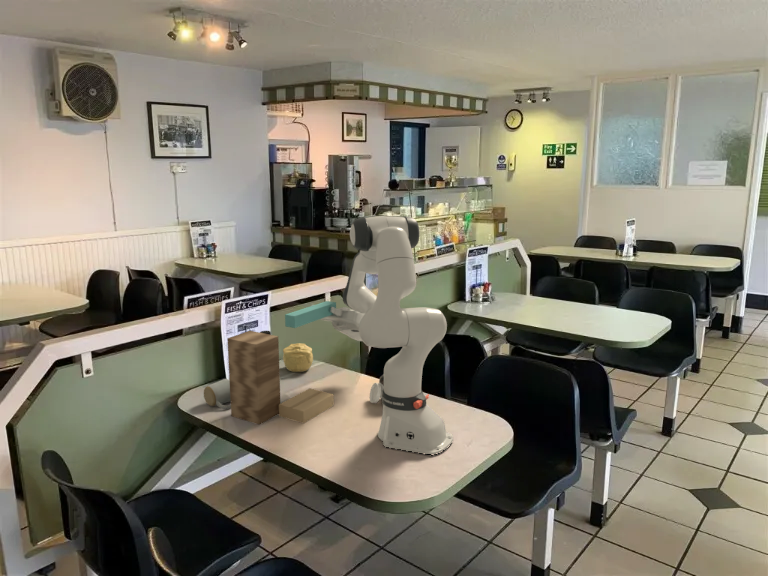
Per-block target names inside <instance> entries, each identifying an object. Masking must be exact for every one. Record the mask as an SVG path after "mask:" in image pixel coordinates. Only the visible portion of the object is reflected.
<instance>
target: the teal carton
mask: <svg viewBox="0 0 768 576" xmlns="http://www.w3.org/2000/svg"><path fill="white" fill-rule="evenodd" d="M312 305H313V306H311V305H310V306H307V307H305V308H301V309H298V310H295V311H293V312H289V313H286V314H284V318H285V319H284V323H285V327H287V328H293V329H296V328H299V327H303V326H304V325H308V324H311V323H313V322H316V321H319V320H320V319H322V318H324V317H327V316H330V315H333V313H330V312H329V311H328V310H329V307H334V308H337V302H335V301H329V300H326V301H323V302H320V303H317V304H312Z"/></svg>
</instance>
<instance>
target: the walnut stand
mask: <svg viewBox="0 0 768 576" xmlns="http://www.w3.org/2000/svg"><path fill="white" fill-rule="evenodd" d="M279 342H280V341H279V335H274V334H271V335H269V334H264V333H260V332H259V331H254V330H247V331H245V332H241V333H238V334H237V335H233V336H231V337H227V357H228V359H227V360H228V376H229V378H228V380H230V399H231V401H230V405H231V408H230V412H231V413H230V416H231V417H234V418H237V419H239V420H243V421H247V422H248V423H249V422H250V423H252V424H256V425H259V426H260V425H263V424H264V423H265V422H267V421H269V420H271V419H273V418H275V417H276V416H279V404H281V403H282V402H281V380H280V379H281V377H280V372H281V371H280V352H279V351H280V348H279V347H280V345H279V344H280V343H279Z"/></svg>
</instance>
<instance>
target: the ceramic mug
mask: <svg viewBox="0 0 768 576" xmlns="http://www.w3.org/2000/svg"><path fill="white" fill-rule="evenodd" d="M203 398H204V400H205V402H206V404H207V405H208V406H210V407H216V406H217V407H219V408H220V409H222V410H231V404H230V405H224V404H227V403H228V402H231V399H230V380H229V378H223V379H221V380H218V381H216V382H213V383H211V384H209V385H207V386H205V387H204V389H203Z"/></svg>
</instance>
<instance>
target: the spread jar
mask: <svg viewBox="0 0 768 576" xmlns="http://www.w3.org/2000/svg"><path fill="white" fill-rule="evenodd" d="M383 389H384V373H383V374H382V375H381V376H380V377H379V379H378V382H374V383H372V386H371V388H370V391H369V402H370V403H371V404H378V402H379V401H380V400H381V401H382V390H383Z"/></svg>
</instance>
